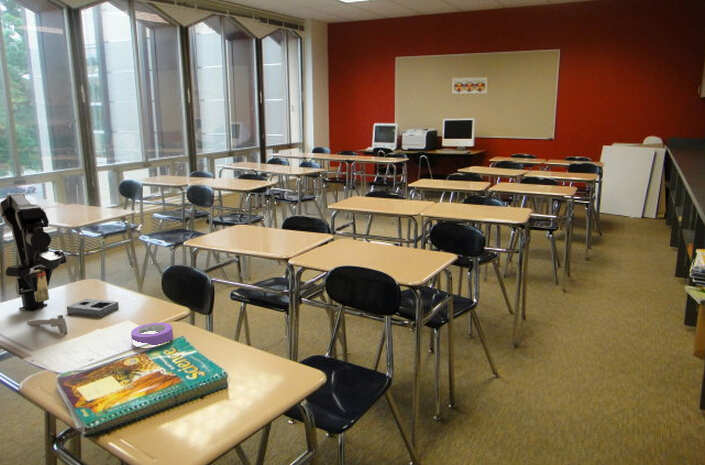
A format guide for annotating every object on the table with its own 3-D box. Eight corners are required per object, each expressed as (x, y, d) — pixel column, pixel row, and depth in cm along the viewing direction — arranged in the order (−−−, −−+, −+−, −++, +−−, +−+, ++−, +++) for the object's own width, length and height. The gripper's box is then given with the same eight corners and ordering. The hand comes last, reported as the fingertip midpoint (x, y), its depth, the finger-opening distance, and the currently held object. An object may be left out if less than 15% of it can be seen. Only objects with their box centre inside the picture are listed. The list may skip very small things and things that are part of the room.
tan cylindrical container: (32, 301, 178) (28, 272, 176) (42, 297, 181) (38, 269, 179) (42, 302, 176) (37, 273, 174) (52, 298, 180) (48, 269, 178)
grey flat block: (67, 313, 186) (66, 306, 185) (87, 304, 194) (86, 298, 193) (100, 317, 181) (99, 310, 181) (118, 308, 190) (118, 301, 189)
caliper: (67, 334, 168) (65, 315, 167) (64, 335, 167) (62, 316, 166) (30, 323, 178) (28, 305, 177) (27, 324, 177) (24, 306, 176)
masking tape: (138, 334, 167) (137, 323, 166) (176, 332, 168) (175, 321, 167) (127, 350, 155) (125, 338, 154) (168, 348, 156) (167, 335, 156)
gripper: (28, 252, 164) (35, 300, 167) (76, 239, 181) (81, 283, 184) (1, 250, 167) (8, 297, 170) (50, 237, 185) (56, 281, 188)
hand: (40, 289), depth 178 cm, fingers closed on tan cylindrical container, 4 cm apart
